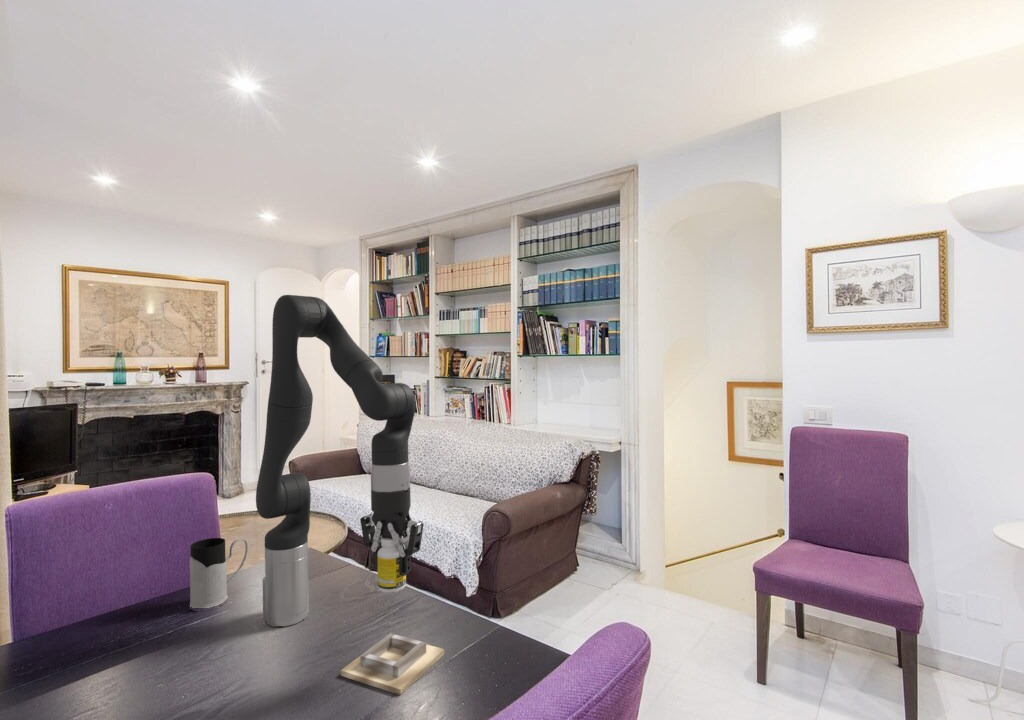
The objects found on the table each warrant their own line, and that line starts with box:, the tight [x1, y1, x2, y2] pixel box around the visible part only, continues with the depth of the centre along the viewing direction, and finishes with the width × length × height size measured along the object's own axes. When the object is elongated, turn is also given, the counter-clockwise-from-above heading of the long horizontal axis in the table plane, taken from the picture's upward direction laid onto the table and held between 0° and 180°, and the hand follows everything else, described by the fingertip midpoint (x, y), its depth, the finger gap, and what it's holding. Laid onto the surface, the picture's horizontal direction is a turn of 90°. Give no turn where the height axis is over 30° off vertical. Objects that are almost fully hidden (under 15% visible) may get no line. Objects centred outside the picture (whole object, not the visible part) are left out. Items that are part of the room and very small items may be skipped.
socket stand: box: [340, 633, 445, 696], centre depth 100 cm, size 14×14×3 cm
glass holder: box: [189, 537, 249, 608], centre depth 130 cm, size 9×14×15 cm, turn 145°
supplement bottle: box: [377, 536, 407, 593], centre depth 100 cm, size 5×5×10 cm
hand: (392, 571), depth 100 cm, fingers closed on supplement bottle, 5 cm apart
